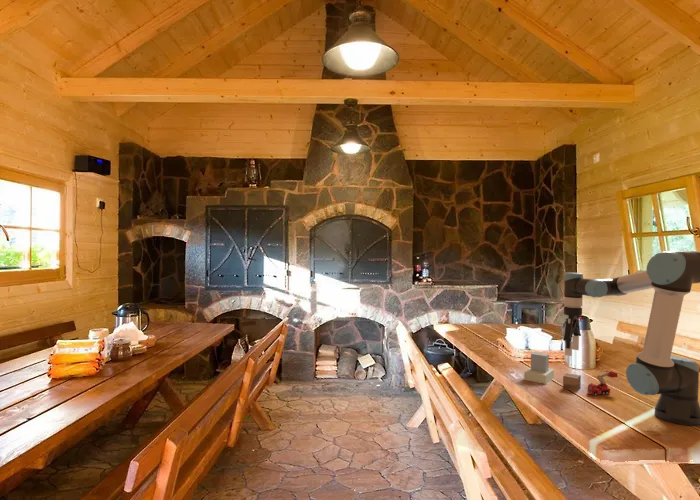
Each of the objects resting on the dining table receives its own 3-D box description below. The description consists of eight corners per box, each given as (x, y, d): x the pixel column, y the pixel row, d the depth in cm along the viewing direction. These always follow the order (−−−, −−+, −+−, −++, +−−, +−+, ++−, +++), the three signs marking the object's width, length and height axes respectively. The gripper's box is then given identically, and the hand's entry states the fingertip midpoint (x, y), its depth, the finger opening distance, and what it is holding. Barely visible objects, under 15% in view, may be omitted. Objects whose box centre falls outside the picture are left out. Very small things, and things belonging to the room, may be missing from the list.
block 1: (545, 372, 216) (546, 356, 216) (530, 370, 220) (530, 353, 220) (548, 370, 220) (548, 354, 219) (533, 367, 224) (533, 351, 224)
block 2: (577, 391, 201) (577, 378, 201) (563, 388, 205) (563, 375, 205) (580, 388, 206) (580, 375, 206) (566, 385, 210) (566, 372, 209)
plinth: (545, 384, 211) (546, 375, 211) (524, 379, 218) (524, 371, 218) (553, 377, 222) (554, 368, 222) (533, 373, 229) (533, 365, 229)
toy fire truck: (586, 393, 198) (586, 372, 198) (611, 391, 202) (611, 369, 202) (592, 396, 195) (592, 374, 195) (617, 393, 199) (617, 371, 199)
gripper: (570, 302, 217) (569, 346, 217) (557, 308, 197) (555, 356, 198) (587, 304, 212) (586, 348, 213) (575, 310, 193) (574, 359, 193)
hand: (571, 352), depth 205 cm, fingers open, 13 cm apart
